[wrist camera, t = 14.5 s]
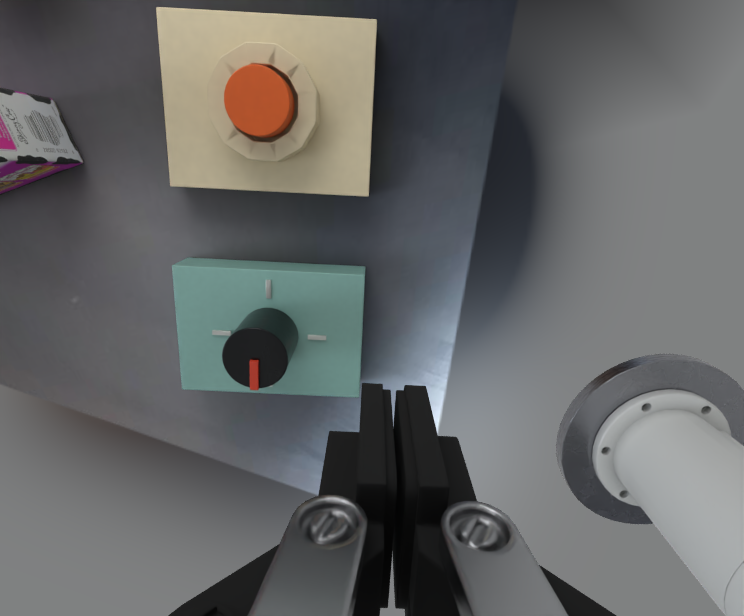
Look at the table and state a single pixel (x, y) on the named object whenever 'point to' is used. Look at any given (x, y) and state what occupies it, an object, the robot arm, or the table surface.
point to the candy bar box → (32, 140)
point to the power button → (258, 101)
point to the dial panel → (279, 291)
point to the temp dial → (260, 348)
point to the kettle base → (307, 83)
